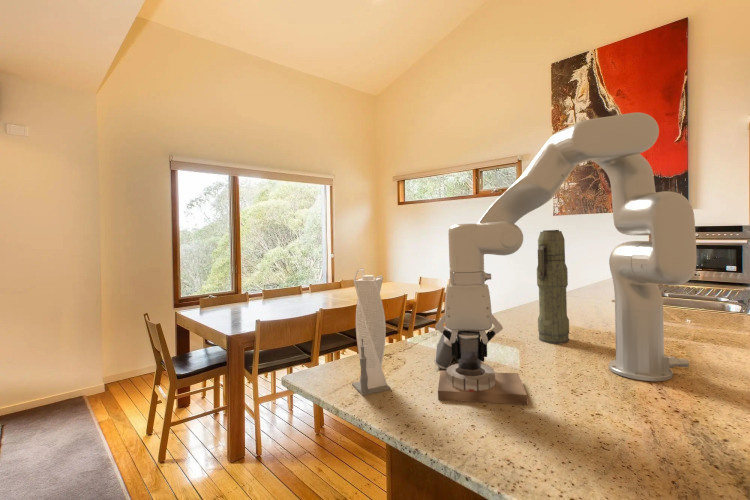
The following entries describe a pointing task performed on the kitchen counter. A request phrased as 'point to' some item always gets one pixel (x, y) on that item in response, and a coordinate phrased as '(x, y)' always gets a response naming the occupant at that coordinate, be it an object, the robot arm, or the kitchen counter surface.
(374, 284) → the skyscraper
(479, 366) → the lens
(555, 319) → the thermos
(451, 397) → the mount board
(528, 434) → the kitchen counter surface
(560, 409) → the kitchen counter surface
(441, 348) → the camera
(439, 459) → the kitchen counter surface
